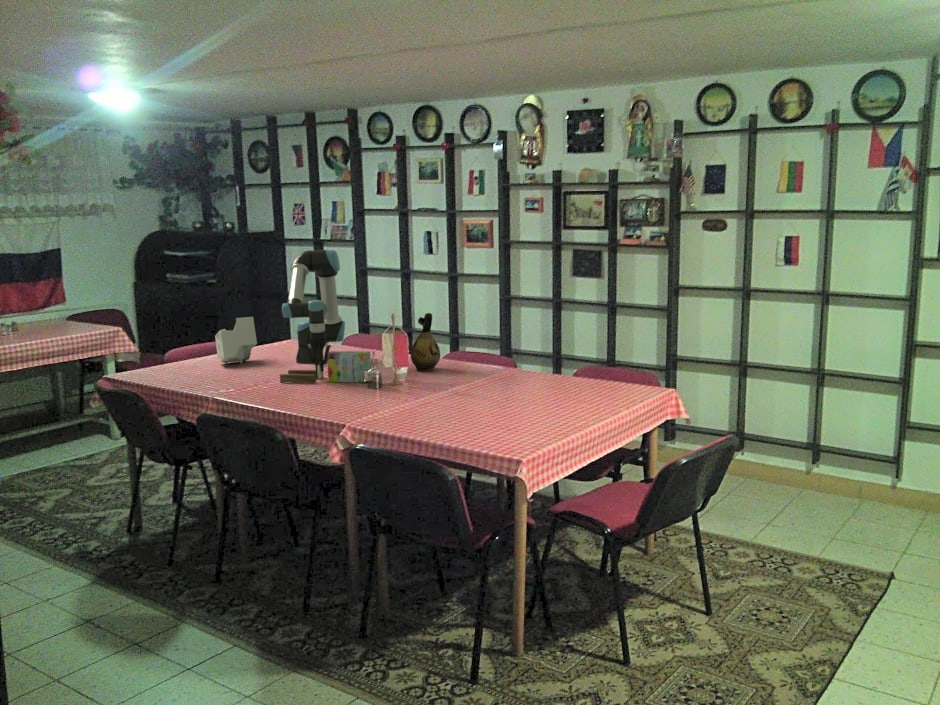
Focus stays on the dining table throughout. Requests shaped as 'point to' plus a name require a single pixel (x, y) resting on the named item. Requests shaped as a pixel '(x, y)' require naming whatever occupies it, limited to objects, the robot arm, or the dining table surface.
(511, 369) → the dining table surface
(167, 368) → the dining table surface
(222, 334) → the grey stepped block
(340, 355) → the snack box
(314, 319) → the robot arm
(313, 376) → the walnut chute
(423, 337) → the ceramic jug
